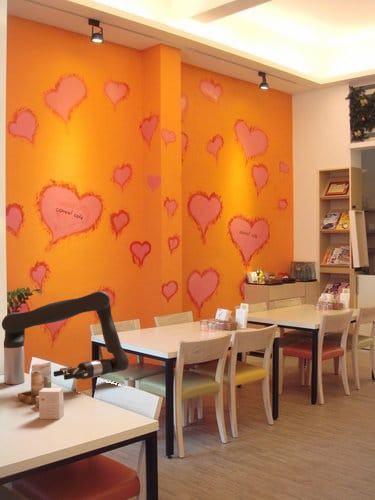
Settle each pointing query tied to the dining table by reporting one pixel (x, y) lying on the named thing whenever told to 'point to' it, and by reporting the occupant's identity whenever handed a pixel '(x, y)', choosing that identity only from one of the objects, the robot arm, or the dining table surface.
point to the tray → (27, 398)
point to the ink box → (43, 371)
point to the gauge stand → (44, 387)
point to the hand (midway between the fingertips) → (59, 375)
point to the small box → (51, 403)
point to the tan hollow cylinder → (36, 383)
